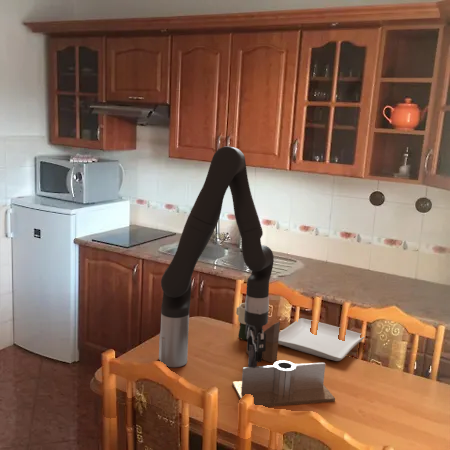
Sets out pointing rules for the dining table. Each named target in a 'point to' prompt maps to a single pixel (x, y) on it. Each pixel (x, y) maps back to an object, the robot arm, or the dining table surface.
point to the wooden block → (271, 343)
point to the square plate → (318, 340)
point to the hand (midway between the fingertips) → (254, 355)
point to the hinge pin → (252, 356)
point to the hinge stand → (284, 384)
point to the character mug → (241, 321)
